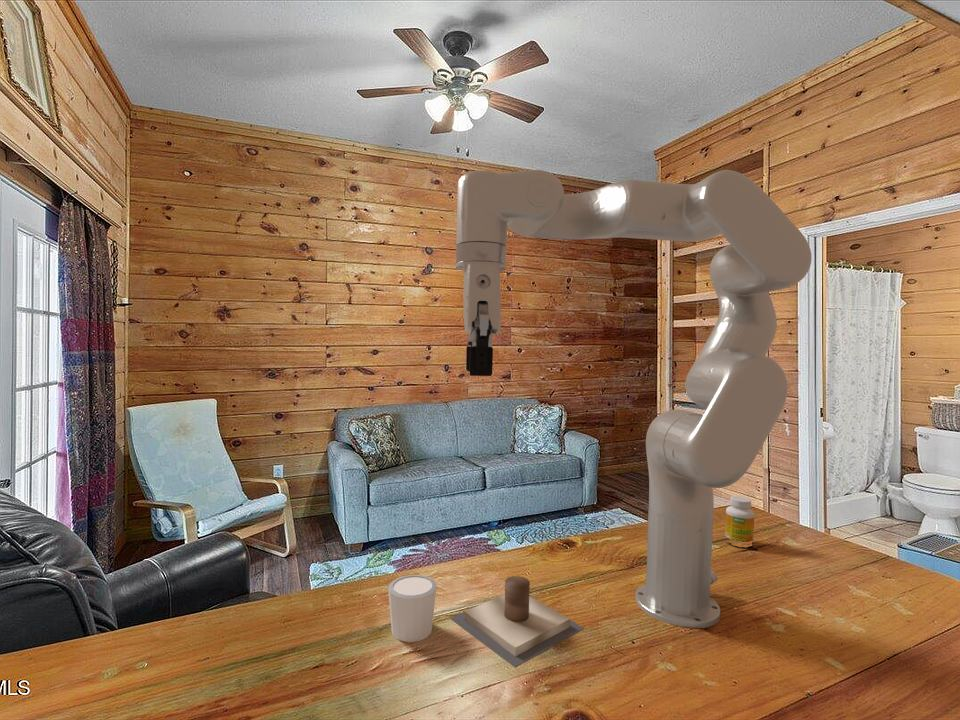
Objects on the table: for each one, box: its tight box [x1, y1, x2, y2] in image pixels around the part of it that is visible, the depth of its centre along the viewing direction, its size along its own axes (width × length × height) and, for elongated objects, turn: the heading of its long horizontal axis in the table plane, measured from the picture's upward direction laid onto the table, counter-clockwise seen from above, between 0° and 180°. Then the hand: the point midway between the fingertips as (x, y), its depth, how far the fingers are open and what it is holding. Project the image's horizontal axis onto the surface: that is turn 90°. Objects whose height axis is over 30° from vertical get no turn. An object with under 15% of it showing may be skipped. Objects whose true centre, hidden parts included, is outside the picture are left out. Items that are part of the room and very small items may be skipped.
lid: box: [463, 575, 571, 656], centre depth 73 cm, size 11×11×6 cm
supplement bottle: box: [724, 495, 755, 542], centre depth 105 cm, size 5×5×10 cm
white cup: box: [387, 574, 437, 643], centre depth 71 cm, size 7×7×7 cm
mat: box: [449, 612, 585, 668], centre depth 73 cm, size 14×14×1 cm
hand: (478, 373), depth 75 cm, fingers open, 9 cm apart
